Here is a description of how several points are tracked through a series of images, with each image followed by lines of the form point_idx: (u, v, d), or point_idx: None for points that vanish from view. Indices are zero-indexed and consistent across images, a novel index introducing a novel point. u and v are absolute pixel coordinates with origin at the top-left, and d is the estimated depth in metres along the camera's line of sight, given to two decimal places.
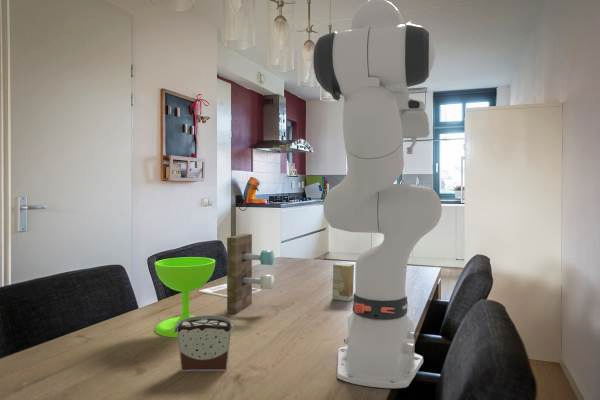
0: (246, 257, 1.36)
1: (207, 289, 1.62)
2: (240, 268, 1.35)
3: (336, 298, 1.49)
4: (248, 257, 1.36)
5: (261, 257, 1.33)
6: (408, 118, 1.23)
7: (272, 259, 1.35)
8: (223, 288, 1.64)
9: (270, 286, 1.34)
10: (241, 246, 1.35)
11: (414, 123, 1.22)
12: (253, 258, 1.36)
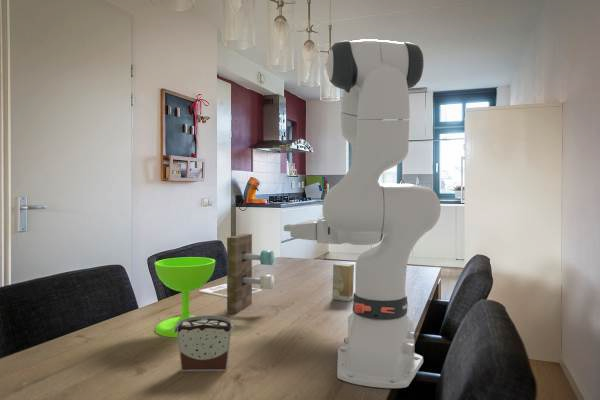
0: (246, 257, 1.36)
1: (207, 289, 1.62)
2: (240, 268, 1.35)
3: (336, 298, 1.49)
4: (248, 257, 1.36)
5: (261, 257, 1.33)
6: None
7: (272, 259, 1.35)
8: (223, 288, 1.64)
9: (270, 286, 1.34)
10: (241, 246, 1.35)
11: None
12: (253, 258, 1.36)
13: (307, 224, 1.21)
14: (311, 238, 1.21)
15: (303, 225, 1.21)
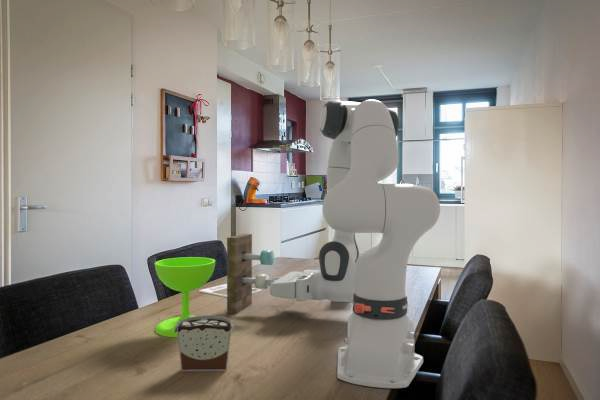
0: (246, 257, 1.36)
1: (207, 289, 1.62)
2: (240, 268, 1.35)
3: None
4: (248, 257, 1.36)
5: (261, 257, 1.33)
6: None
7: (272, 259, 1.35)
8: (223, 288, 1.64)
9: (265, 286, 1.34)
10: (241, 246, 1.35)
11: (286, 281, 1.27)
12: (253, 258, 1.36)
13: (286, 283, 1.23)
14: (290, 297, 1.23)
15: (282, 284, 1.24)
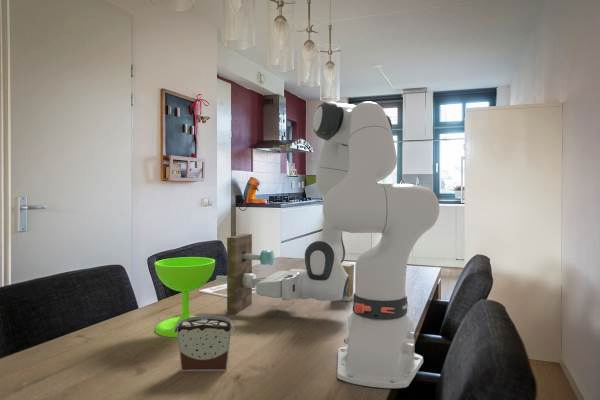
0: (246, 257, 1.36)
1: (207, 289, 1.62)
2: (240, 268, 1.35)
3: None
4: (248, 257, 1.36)
5: (261, 257, 1.33)
6: None
7: (272, 259, 1.35)
8: (223, 288, 1.64)
9: (252, 285, 1.36)
10: (241, 246, 1.35)
11: (272, 280, 1.28)
12: (253, 258, 1.36)
13: (272, 282, 1.25)
14: (276, 296, 1.25)
15: (268, 283, 1.25)
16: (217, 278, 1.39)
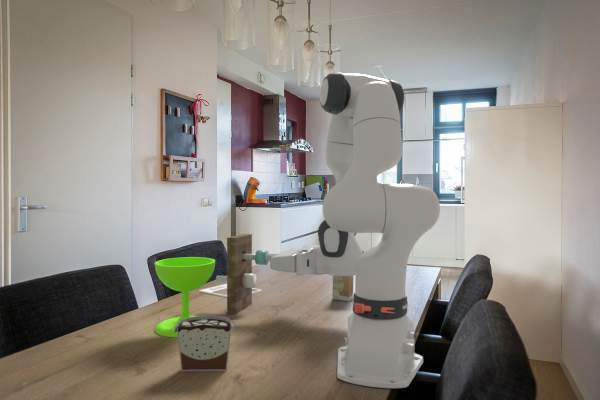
0: None
1: (207, 289, 1.62)
2: (240, 268, 1.35)
3: (336, 298, 1.49)
4: (243, 257, 1.36)
5: (256, 257, 1.34)
6: None
7: None
8: (223, 288, 1.64)
9: (252, 285, 1.36)
10: (241, 246, 1.35)
11: None
12: (248, 258, 1.36)
13: (286, 257, 1.23)
14: (290, 270, 1.23)
15: (282, 258, 1.23)
16: (217, 278, 1.39)
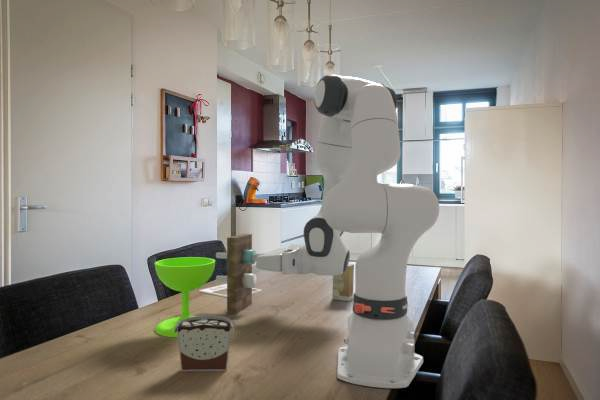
0: None
1: (207, 289, 1.62)
2: (240, 268, 1.35)
3: (336, 298, 1.49)
4: None
5: (243, 256, 1.35)
6: None
7: None
8: (223, 288, 1.64)
9: (252, 285, 1.36)
10: (241, 246, 1.35)
11: None
12: None
13: (272, 256, 1.24)
14: (276, 270, 1.24)
15: (268, 257, 1.25)
16: (217, 278, 1.39)
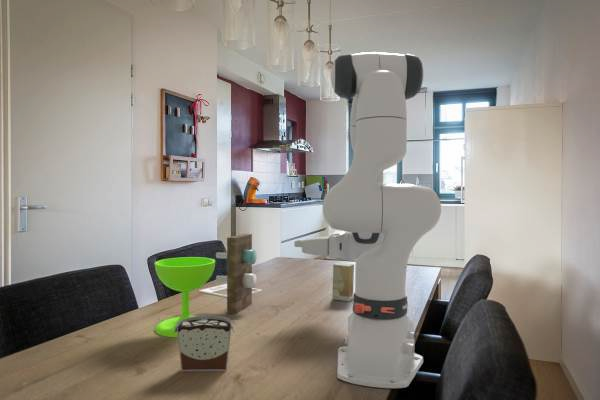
0: None
1: (207, 289, 1.62)
2: (240, 268, 1.35)
3: (336, 298, 1.49)
4: None
5: (243, 256, 1.35)
6: None
7: (254, 258, 1.37)
8: (223, 288, 1.64)
9: (252, 285, 1.36)
10: (241, 246, 1.35)
11: None
12: None
13: (319, 239, 1.21)
14: (323, 254, 1.20)
15: (315, 240, 1.21)
16: (217, 278, 1.39)
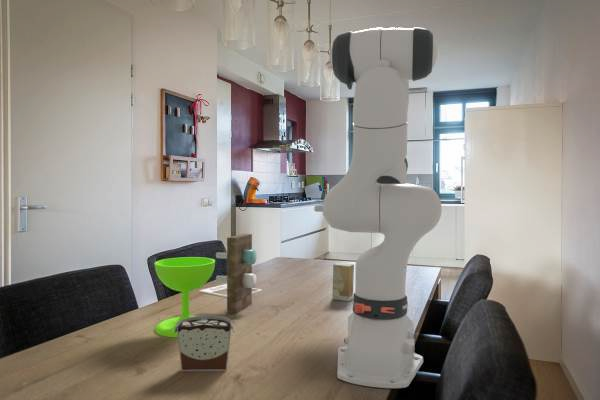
0: None
1: (207, 289, 1.62)
2: (240, 268, 1.35)
3: (336, 298, 1.49)
4: None
5: (243, 256, 1.35)
6: None
7: (254, 258, 1.37)
8: (224, 288, 1.64)
9: (252, 285, 1.36)
10: (241, 246, 1.35)
11: None
12: None
13: None
14: None
15: None
16: (217, 278, 1.39)
